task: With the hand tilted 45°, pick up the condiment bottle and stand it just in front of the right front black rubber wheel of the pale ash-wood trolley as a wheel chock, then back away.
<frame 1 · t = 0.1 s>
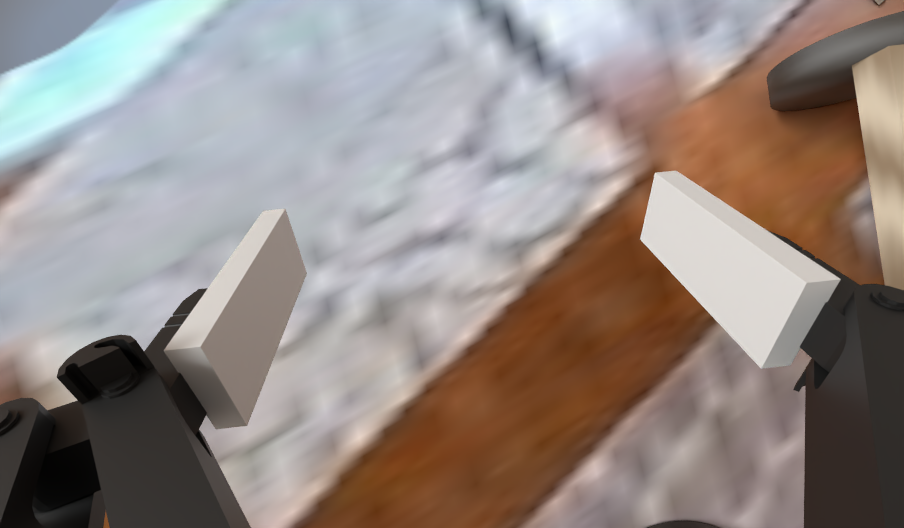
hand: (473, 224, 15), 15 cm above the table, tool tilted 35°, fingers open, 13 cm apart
trolley: (885, 191, 31), on the table
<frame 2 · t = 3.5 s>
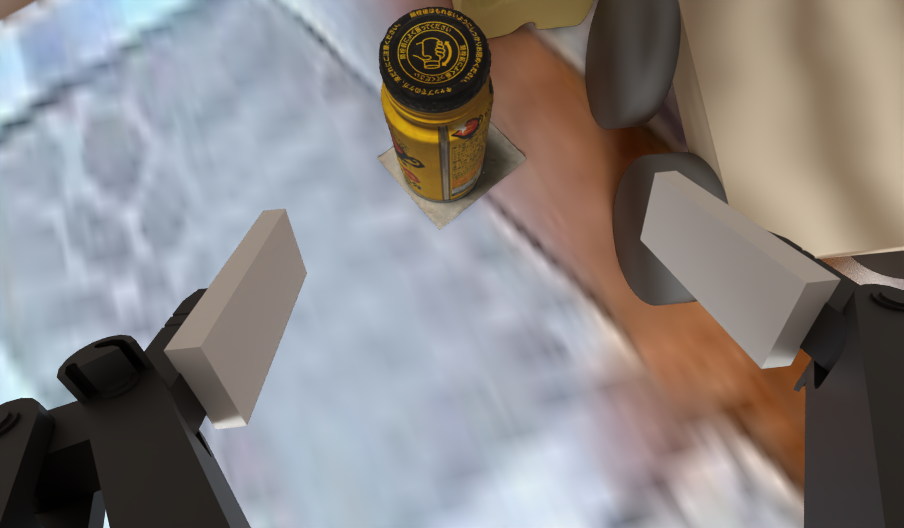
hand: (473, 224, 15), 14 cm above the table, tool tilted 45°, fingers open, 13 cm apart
condiment: (451, 161, 30), on the table
trolley: (719, 159, 30), on the table
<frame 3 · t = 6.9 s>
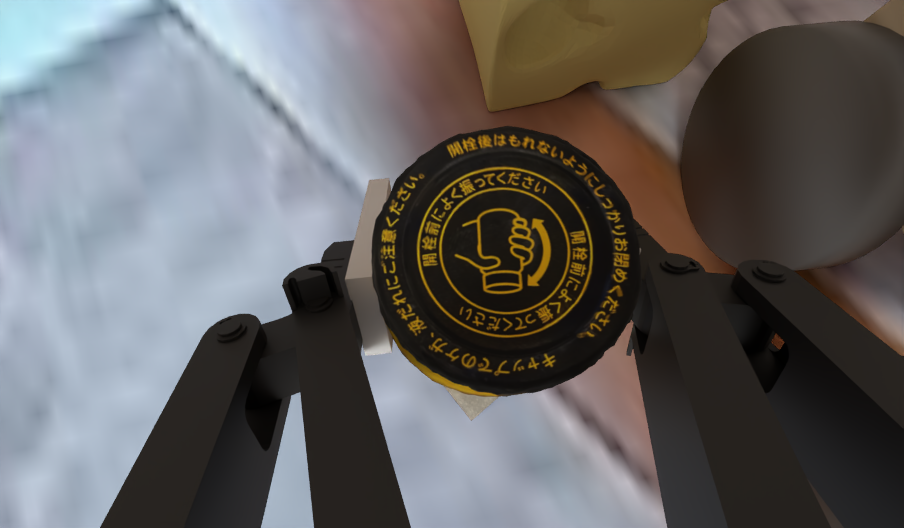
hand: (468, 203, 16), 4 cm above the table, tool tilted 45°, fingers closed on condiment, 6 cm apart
condiment: (489, 299, 19), on the table, touching gripper
trolley: (897, 299, 19), on the table
cheese: (549, 24, 22), on the table
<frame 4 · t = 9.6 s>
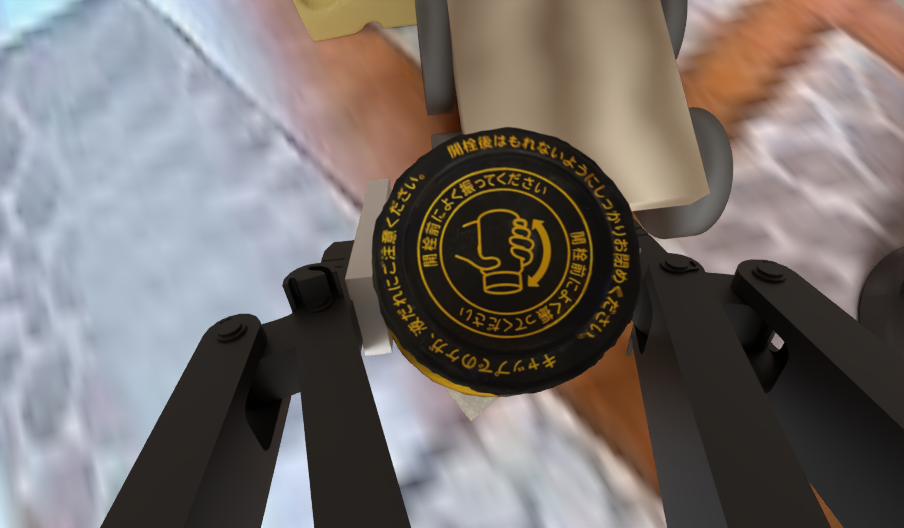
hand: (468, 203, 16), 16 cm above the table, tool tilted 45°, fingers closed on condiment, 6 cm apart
condiment: (489, 299, 19), point 12 cm above the table, touching gripper
trolley: (536, 141, 34), on the table
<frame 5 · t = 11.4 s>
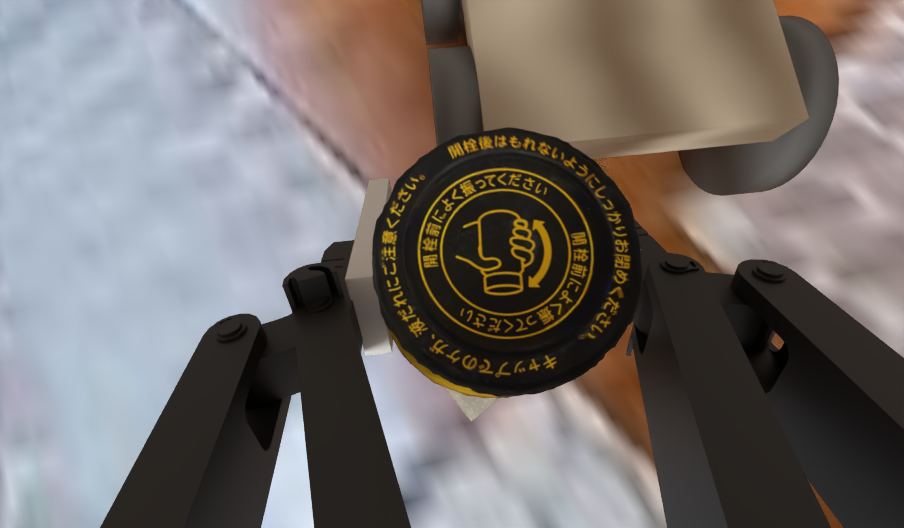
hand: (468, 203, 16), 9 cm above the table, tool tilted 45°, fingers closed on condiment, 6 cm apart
condiment: (489, 299, 19), point 5 cm above the table, touching gripper
trolley: (560, 81, 28), on the table
when the fingers open (5 cm above the table, at t = 12.8 s): condiment drops 1 cm, on the table.
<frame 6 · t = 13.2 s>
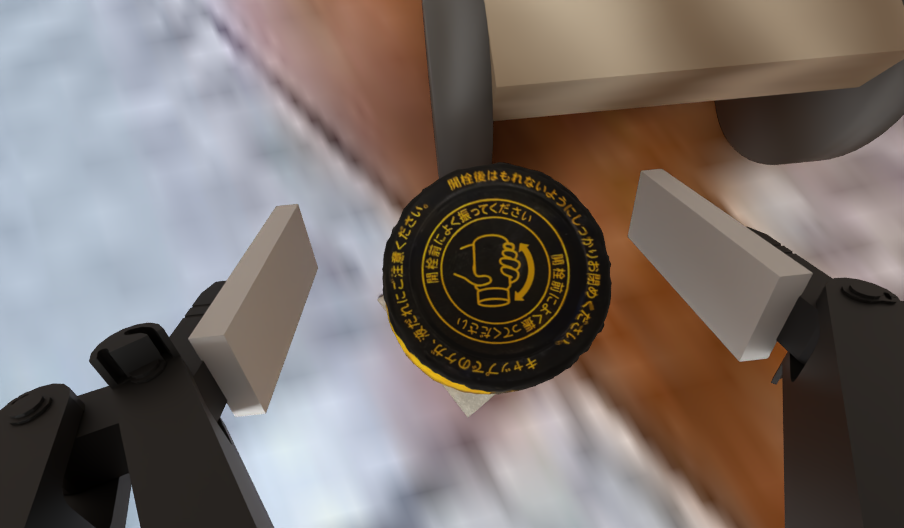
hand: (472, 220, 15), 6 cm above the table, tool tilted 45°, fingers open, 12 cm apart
condiment: (486, 304, 21), on the table
trolley: (577, 36, 23), on the table
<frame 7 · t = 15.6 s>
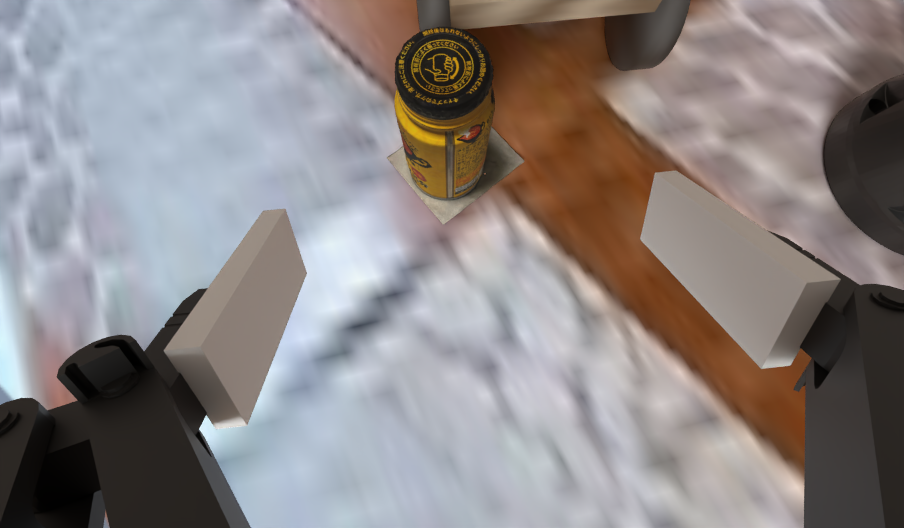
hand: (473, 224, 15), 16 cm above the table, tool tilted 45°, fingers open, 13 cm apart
condiment: (455, 162, 33), on the table
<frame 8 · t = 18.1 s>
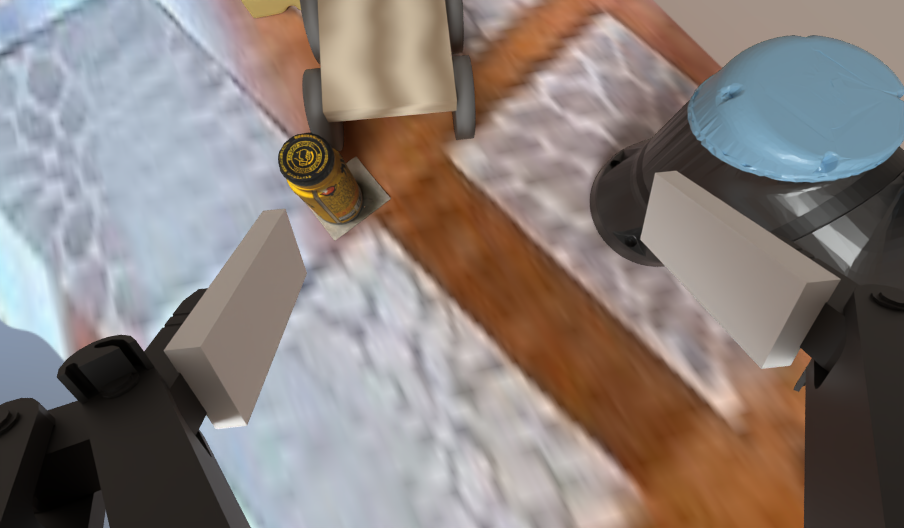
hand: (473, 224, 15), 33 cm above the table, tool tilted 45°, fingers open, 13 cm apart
condiment: (346, 198, 49), on the table
trolley: (395, 84, 52), on the table
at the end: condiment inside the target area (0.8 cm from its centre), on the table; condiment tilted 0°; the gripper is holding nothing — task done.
